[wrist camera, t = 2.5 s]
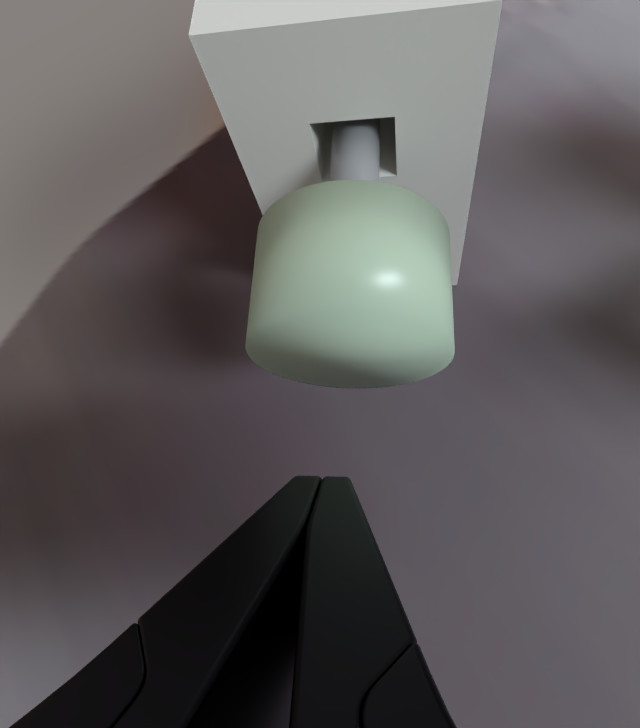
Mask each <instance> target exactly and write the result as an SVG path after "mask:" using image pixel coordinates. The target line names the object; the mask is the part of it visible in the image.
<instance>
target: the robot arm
mask: <svg viewBox="0 0 640 728" xmlns="http://www.w3.org/2000/svg"><path fill="white" fill-rule="evenodd" d="M9 728H457V727H456V726H455V724H454V722H453V720H452V718H451V716H450V714H449V712H448V710H447V708H446V706H445V704H444V701H443V699H442V697H441V695H440V693H439V690H438V688H437V686H436V684H435V682H434V679H433V677H432V675H431V673H430V671H429V668H428V666H427V663H426V661H425V658H424V656H423V654H422V651H421V649H420V646H419V645H418V644H417V640H416V637H415V635H414V633H413V630H412V628H411V625H410V623H409V620H408V618H407V616H406V613H405V611H404V608H403V606H402V604H401V601H400V599H399V596H398V594H397V591H396V589H395V587H394V584H393V582H392V579H391V577H390V574H389V572H388V570H387V567H386V565H385V562H384V560H383V557H382V555H381V553H380V550H379V548H378V545H377V543H376V540H375V538H374V536H373V533H372V531H371V528H370V526H369V523H368V521H367V519H366V516H365V514H364V511H363V509H362V506H361V504H360V502H359V499H358V497H357V494H356V492H355V489H354V487H353V485H352V482H351V480H350V479H349V478H348V477H330V476H327V477H324V478H323V479H321V478H320V477H319V476H296V477H294V478H293V479H291V480H290V481H289V482H288V483H287V484H286V485H285V486H284V487H283V488H282V489H281V490H279V491H278V492H277V493H276V494H275V495H274V496H273V497H272V498H271V499H270V500H268V501H267V502H266V503H265V504H264V505H263V506H262V507H261V508H260V509H259V510H257V511H256V512H255V513H254V514H253V515H252V516H251V517H250V518H249V519H248V520H246V521H245V522H244V523H243V524H242V525H241V526H240V527H239V528H238V529H237V530H236V531H234V532H233V533H232V534H231V535H230V536H229V537H228V538H227V539H226V540H225V541H223V542H222V543H221V544H220V545H219V546H218V547H217V548H216V549H215V550H214V551H212V552H211V553H210V554H209V555H208V556H207V557H206V558H205V559H204V560H203V561H201V562H200V563H199V564H198V565H197V566H196V567H195V568H194V569H193V570H192V571H191V572H189V573H188V574H187V575H186V576H185V577H184V578H183V579H182V580H181V581H180V582H178V583H177V584H176V585H175V586H174V587H173V588H172V589H171V590H170V591H169V592H167V593H166V594H165V595H164V596H163V597H162V598H161V599H160V600H159V601H158V602H157V603H155V604H154V605H153V606H152V607H151V608H150V609H149V610H148V611H147V612H146V613H144V614H143V615H142V616H141V617H140V618H139V619H138V624H136V623H134V624H132V625H131V626H130V627H129V628H128V629H127V630H125V631H124V632H123V633H122V634H121V635H120V636H119V637H118V638H117V639H116V640H114V641H113V642H112V643H111V644H110V645H109V646H108V647H107V648H105V649H104V650H103V651H102V652H101V653H100V654H99V655H97V656H96V657H95V658H94V659H93V660H92V661H91V662H89V663H88V664H87V665H86V666H85V667H84V668H83V669H81V670H80V671H79V672H78V673H77V674H76V675H74V676H73V677H72V678H71V679H70V680H68V681H67V682H66V683H65V684H63V685H62V686H61V687H60V688H58V689H57V690H56V691H55V692H53V693H52V694H51V695H50V696H48V697H47V698H46V699H45V700H43V701H42V702H41V703H40V704H38V705H37V706H36V707H35V708H34V709H32V710H31V711H30V712H29V713H27V714H26V715H25V716H23V717H22V718H21V719H19V720H18V721H17V722H16V723H14V724H13V725H12V726H10V727H9Z"/></svg>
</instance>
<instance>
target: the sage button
mask: <svg viewBox="0 0 640 728" xmlns="http://www.w3.org/2000/svg"><path fill="white" fill-rule="evenodd" d="M379 159H380V118H373V119H361V120H348V121H336V122H333V131H332V150H331V169H330V181H328V182H323V183H318V184H313V185H310V186H306V187H303V188H300V189H298V190H295V191H293V192H291V193H289V194H287V195H285V196H284V197H282V198H280V199H279V200H277V201H276V202H275V203H274V204H272V205H271V206H270V207H269V208H268V209H267V211H266V212H265V213H264V215H263V216H262V218H261V220H260V223H259V225H258V232H257V241H256V250H255V260H254V269H253V278H252V288H251V297H250V306H249V316H248V325H247V334H246V344H245V348H246V352H247V354H248V356H249V357H250V358H251V359H252V361H253V362H255V363H256V364H257V365H258V366H260V367H261V368H263V369H265V370H267V371H269V372H271V373H273V374H275V375H278V376H281V377H283V378H287V379H290V380H293V381H297V382H301V383H306V384H312V385H318V386H325V387H335V388H379V387H389V386H396V385H402V384H407V383H411V382H415V381H418V380H422V379H425V378H427V377H430V376H432V375H434V374H436V373H438V372H440V371H441V370H443V369H444V368H445V367H447V366H448V365H449V364H450V362H451V361H452V360H453V357H454V352H455V348H454V324H453V300H452V276H451V252H450V231H449V227H448V224H447V222H446V220H445V218H444V216H443V215H442V213H441V212H440V211H439V210H438V209H437V208H436V207H435V206H434V205H433V204H432V203H431V202H429V201H428V200H426V199H425V198H423V197H422V196H420V195H418V194H416V193H414V192H412V191H409V190H407V189H404V188H401V187H398V186H395V185H391V184H387V183H382V182H379Z"/></svg>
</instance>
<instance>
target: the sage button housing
mask: <svg viewBox="0 0 640 728" xmlns="http://www.w3.org/2000/svg"><path fill="white" fill-rule="evenodd" d="M502 1H503V0H195V4H194V10H193V15H192V20H191V25H190V31H189V38H190V40H191V43H192V45H193V47H194V50H195V52H196V55H197V57H198V60H199V62H200V64H201V67H202V69H203V72H204V74H205V77H206V79H207V81H208V83H209V86H210V88H211V91H212V94H213V96H214V98H215V101H216V103H217V106H218V108H219V110H220V113H221V115H222V118H223V120H224V123H225V125H226V128H227V130H228V132H229V135H230V137H231V140H232V142H233V144H234V147H235V149H236V152H237V154H238V157H239V159H240V161H241V164H242V166H243V169H244V171H245V174H246V176H247V178H248V181H249V183H250V186H251V188H252V191H253V193H254V195H255V198H256V200H257V203H258V205H259V208H260V210H261V212H262V215H264V213H265V212H266V211H267V209H268V208H269V207H270V206H271V205H272V204H274V203H275V202H276V201H277V200H279V199H280V198H282V197H284V196H285V195H287V194H289V193H291V192H293V191H295V190H298V189H300V188H303V187H306V186H310V185H313V184H318V183H323V182H328V181H330V169H331V150H332V131H333V122H336V121H348V120H361V119H373V118H380V159H379V182H382V183H387V184H391V185H395V186H398V187H401V188H404V189H407V190H409V191H412V192H414V193H416V194H418V195H420V196H422V197H423V198H425V199H426V200H428V201H429V202H431V203H432V204H433V205H434V206H435V207H436V208H437V209H438V210H439V211H440V212H441V213H442V215H443V216H444V218H445V220H446V222H447V224H448V227H449V231H450V252H451V276H452V285H457V282H458V276H459V269H460V263H461V257H462V251H463V244H464V238H465V232H466V226H467V219H468V213H469V207H470V201H471V194H472V188H473V182H474V176H475V169H476V163H477V157H478V151H479V144H480V138H481V132H482V126H483V119H484V113H485V107H486V101H487V94H488V88H489V82H490V76H491V69H492V63H493V57H494V51H495V44H496V38H497V32H498V26H499V19H500V13H501V7H502Z"/></svg>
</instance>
